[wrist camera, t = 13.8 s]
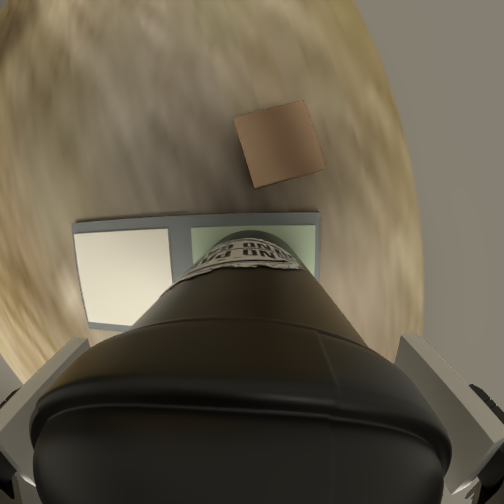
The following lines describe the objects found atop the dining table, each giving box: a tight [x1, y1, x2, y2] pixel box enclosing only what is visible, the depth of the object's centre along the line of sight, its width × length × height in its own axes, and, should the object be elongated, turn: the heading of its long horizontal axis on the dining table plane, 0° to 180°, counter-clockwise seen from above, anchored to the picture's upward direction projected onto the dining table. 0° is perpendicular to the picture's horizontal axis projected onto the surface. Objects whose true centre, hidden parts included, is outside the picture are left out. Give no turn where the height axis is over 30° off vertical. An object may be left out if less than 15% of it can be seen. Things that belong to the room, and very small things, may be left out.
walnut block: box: [233, 100, 326, 189], centre depth 20 cm, size 5×5×5 cm
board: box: [72, 212, 320, 332], centre depth 24 cm, size 23×11×1 cm, turn 91°
